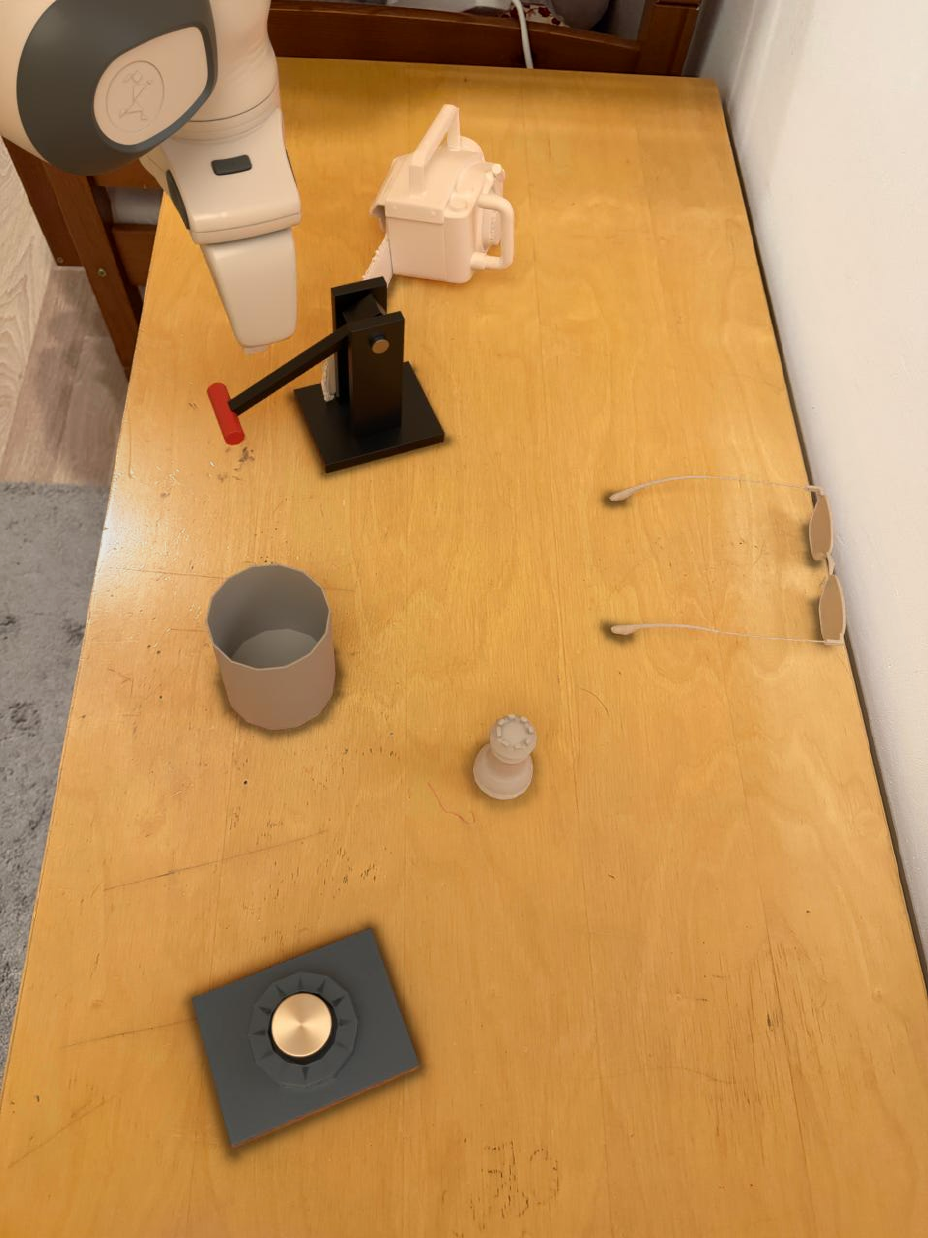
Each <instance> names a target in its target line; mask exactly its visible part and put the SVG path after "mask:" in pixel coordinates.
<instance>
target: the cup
mask: <svg viewBox="0 0 928 1238" xmlns="http://www.w3.org/2000/svg"><path fill="white" fill-rule="evenodd" d="M204 623H205V626H206V629H207V632H208V635H209V636H208V637H209V639H210V643H211V645H212V649H213V652H214V655H215V658H216V662H217V665H218V669H219V672H220V676H221V678H222V679H221V680H222V683H223V685H224V688H225V691H226V695H227V698H228V701H229V705H230V707H231V708H232V709H233V710H234V711H235V712H236V713H237V714H238V715H239V716H240V717H241V718H242V719H243V720H244V721H245V722H246V723H247V724H250V725H253V726H256V727H257V726H258V728H259V727H260V728H263V729H266V730H268V731H278V730H286V729H296V728H298V727H300V726H302V725H304V724H305V723H307V722H309V721H311V720H313V719H315V718H316V717H318V716H319V715H320V714H321V713H322V712H323V710H324V708H325V707H326V705H328V703H329V701H331V699H332V697H333V695H334V689H335V681H336V675H337V671H336V660H335V648H334V647H335V646H334V645H335V644H334V634H333V621H332V609H331V607H330V604H329V601H328V598H327V596H326V593H325V590H324V588H323V587H322V586H321V585H320V584H319V583H318V582H317V581H316V580H314V578H313V577H311V576H310V575H309V574H308V573H307V572H306V571H304V570H302V569H298V568H295V567H292V566H288V565H285V564H282V563H268V564H266V563H265V564H256V565H255V564H253V565H250V566H248V567H246V568H243V569H242V570H240V571H238V572H236V573H234V574H232V575H230V576H227V577H226V579H225V580H224V581H223V582H222V583H221V585H220V586H219V587H218V588H217V589H216V591H214V593H213V594H212V595H211V596H210V599H209V603H208V607H207V611H206V616H205V621H204Z"/></svg>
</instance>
